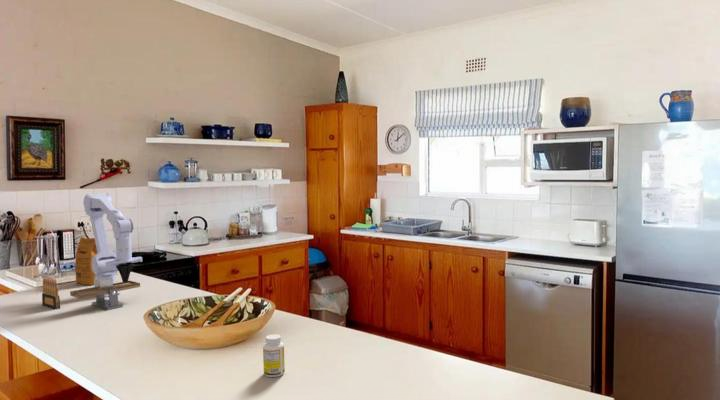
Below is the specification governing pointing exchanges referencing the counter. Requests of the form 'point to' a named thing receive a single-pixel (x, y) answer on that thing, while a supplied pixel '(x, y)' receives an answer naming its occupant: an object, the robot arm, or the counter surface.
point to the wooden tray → (93, 292)
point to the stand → (110, 303)
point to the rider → (103, 283)
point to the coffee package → (85, 261)
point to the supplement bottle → (273, 356)
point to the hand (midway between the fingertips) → (125, 281)
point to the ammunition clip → (50, 293)
